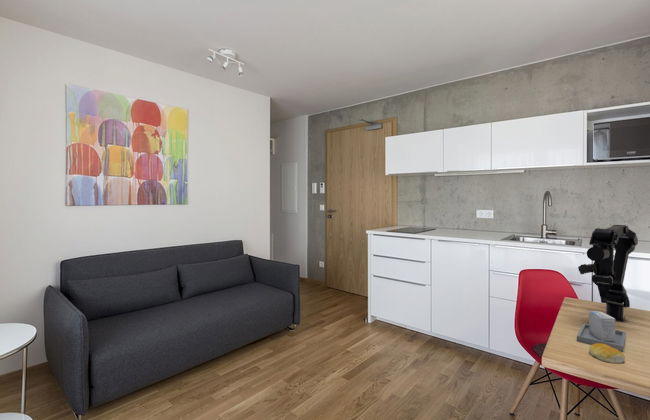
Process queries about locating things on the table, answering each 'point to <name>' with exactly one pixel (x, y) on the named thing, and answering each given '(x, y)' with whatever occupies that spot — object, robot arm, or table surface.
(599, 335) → the medicine box
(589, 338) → the tray
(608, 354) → the bread roll
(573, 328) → the table surface
